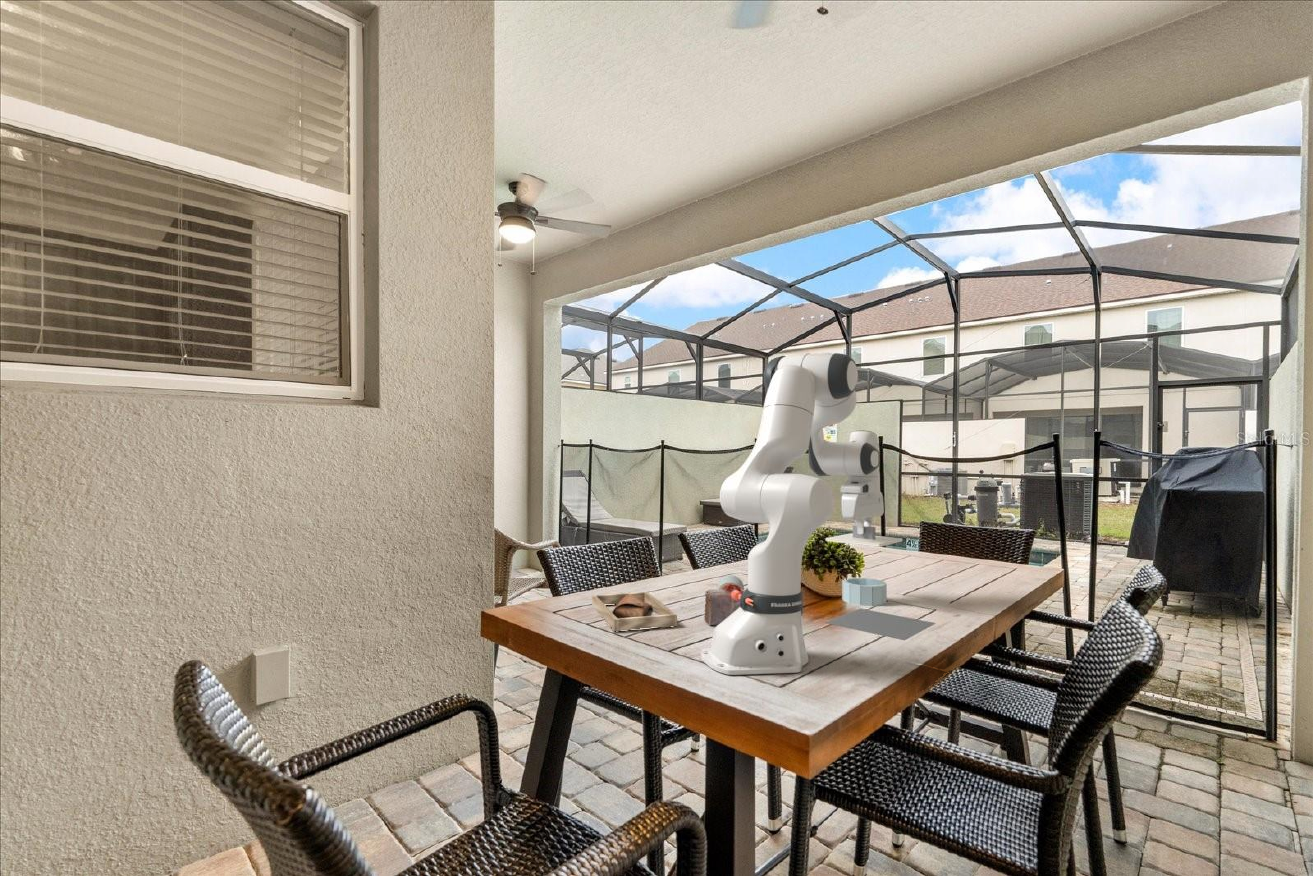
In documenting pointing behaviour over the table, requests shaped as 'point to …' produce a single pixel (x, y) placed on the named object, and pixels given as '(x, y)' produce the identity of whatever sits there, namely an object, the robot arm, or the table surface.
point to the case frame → (618, 624)
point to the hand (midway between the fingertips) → (863, 533)
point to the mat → (881, 623)
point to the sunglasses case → (631, 607)
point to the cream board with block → (864, 538)
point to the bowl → (864, 591)
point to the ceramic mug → (730, 582)
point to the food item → (720, 604)
